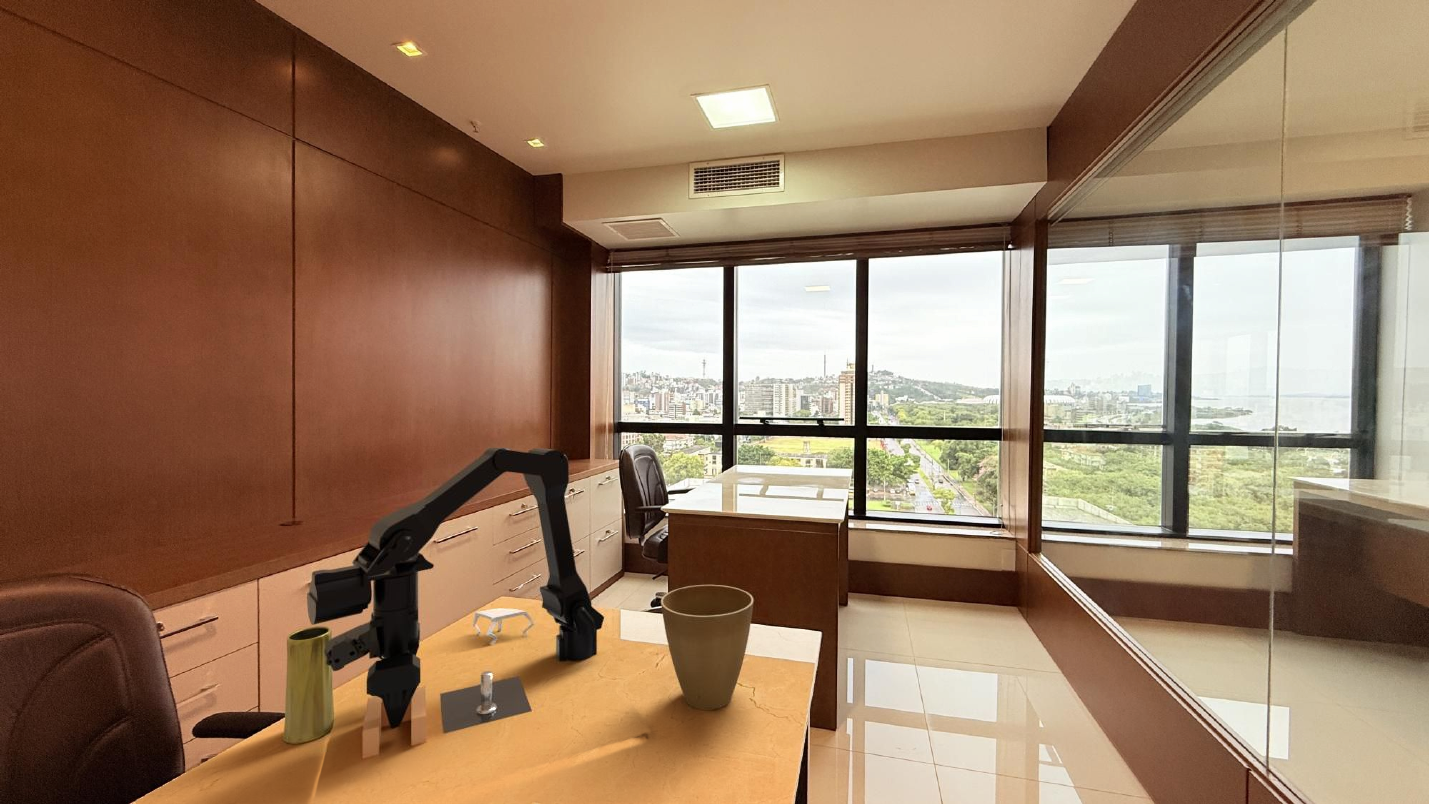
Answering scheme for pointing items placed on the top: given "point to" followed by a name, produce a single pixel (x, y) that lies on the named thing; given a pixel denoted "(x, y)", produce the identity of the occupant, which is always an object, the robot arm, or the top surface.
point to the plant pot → (707, 640)
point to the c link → (378, 719)
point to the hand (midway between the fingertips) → (396, 711)
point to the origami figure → (500, 619)
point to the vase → (308, 686)
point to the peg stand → (483, 703)
